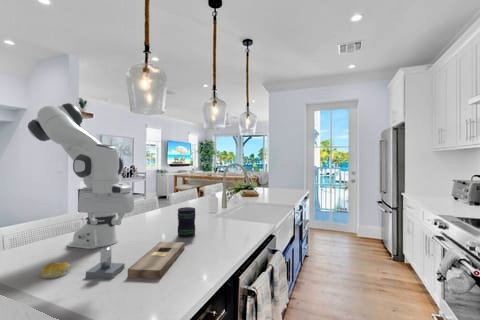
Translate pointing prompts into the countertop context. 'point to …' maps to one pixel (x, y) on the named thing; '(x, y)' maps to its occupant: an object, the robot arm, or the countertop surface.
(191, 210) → the storage jar
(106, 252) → the metal peg
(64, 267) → the bread roll
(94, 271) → the plate
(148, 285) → the countertop surface
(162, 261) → the walnut rail
